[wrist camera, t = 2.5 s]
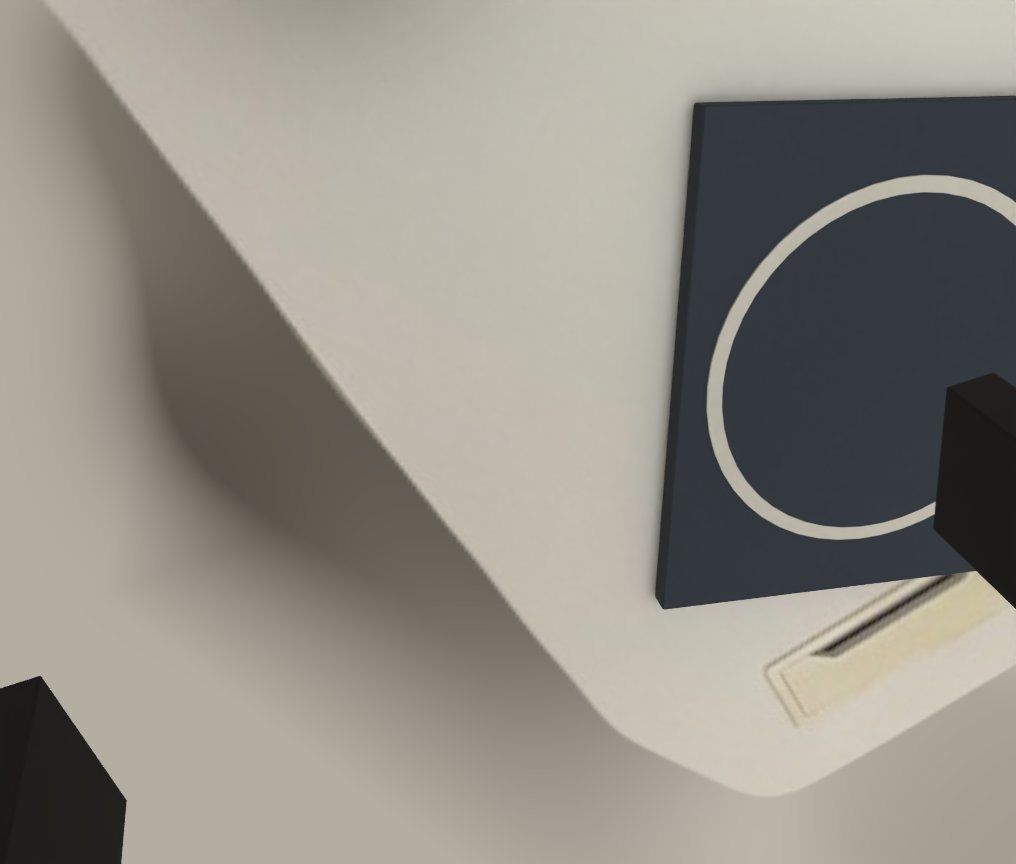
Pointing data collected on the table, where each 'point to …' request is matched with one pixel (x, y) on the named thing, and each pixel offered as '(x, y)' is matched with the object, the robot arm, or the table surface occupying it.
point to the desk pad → (830, 337)
